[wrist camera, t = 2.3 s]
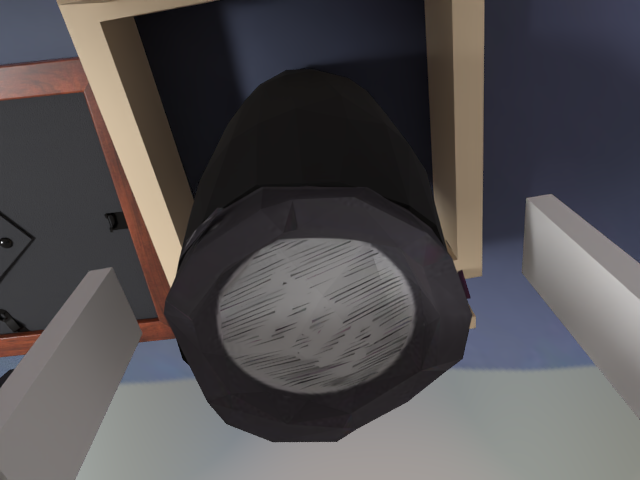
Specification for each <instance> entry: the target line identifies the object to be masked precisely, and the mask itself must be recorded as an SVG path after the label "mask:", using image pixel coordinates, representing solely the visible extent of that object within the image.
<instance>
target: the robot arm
mask: <svg viewBox="0 0 640 480" xmlns="http://www.w3.org/2000/svg"><path fill="white" fill-rule="evenodd" d="M522 273H523V275H524V276H525V277H526V278H527V280H528V281H529V282H530V283H531V285H532V286H533V287H534V288H535V290H536V291H537V292H538V293H539V295H540V296H541V297H542V298H543V300H544V301H545V302H546V303H547V305H548V306H549V307H550V308H551V310H552V311H553V312H554V313H555V315H556V316H557V317H558V318H559V320H560V321H561V322H562V323H563V325H564V326H565V327H566V328H567V330H568V331H569V332H570V333H571V335H572V336H573V337H574V338H575V340H576V341H577V342H578V343H579V345H580V346H581V347H582V348H583V350H584V351H585V352H586V353H587V355H588V356H589V357H590V358H591V360H592V361H593V362H594V363H595V365H596V366H597V367H598V368H599V370H601V372H602V373H603V375H604V376H605V377H606V378H607V380H608V381H609V382H610V383H611V384H612V386H613V387H614V388H615V390H616V391H617V392H618V393H619V394H620V396H621V397H622V398H623V400H624V401H625V402H626V403H627V405H628V406H629V407H630V408H631V410H632V411H633V412H634V413H635V415H636V416H637V417H638V418H639V420H640V263H638V262H637V261H636V260H634V259H633V258H632V257H631V256H629V255H628V254H627V253H626V252H624V251H623V250H622V249H621V248H619V247H618V246H617V245H616V244H614V243H613V242H612V241H610V240H609V239H608V238H607V237H605V236H604V235H603V234H602V233H600V232H599V231H598V230H597V229H595V228H594V227H593V226H591V225H590V224H589V223H588V222H586V221H585V220H584V219H583V218H581V217H580V216H579V215H578V214H576V213H575V212H574V211H573V210H571V209H570V208H569V207H567V206H566V205H565V204H564V203H562V202H561V201H560V200H559V199H557V198H556V197H555V196H554V195H552V194H548V195H542V196H536V197H530V198H526V211H525V228H524V246H523V263H522ZM142 334H143V333H142V331H141V329H140V327H139V324H138V322H137V320H136V318H135V316H134V314H133V311H132V309H131V307H130V305H129V303H128V300H127V298H126V296H125V294H124V292H123V290H122V287H121V285H120V283H119V281H118V279H117V276H116V274H115V272H114V270H113V268H112V267H110V268H104V269H98V270H92V271H89V272H88V273H87V274H86V276H85V277H84V278H83V280H82V281H81V282H80V284H79V285H78V286H77V288H76V289H75V290H74V292H73V293H72V294H71V296H70V297H69V298H68V299H67V301H66V302H65V303H64V305H63V306H62V307H61V309H60V310H59V311H58V313H57V314H56V315H55V317H54V318H53V319H52V321H51V322H50V323H49V325H48V326H47V327H46V328H45V330H44V331H43V332H42V334H41V335H40V336H39V338H38V339H37V340H36V342H35V343H34V344H33V346H32V347H31V348H30V350H29V351H28V352H27V354H26V355H25V356H24V358H23V359H22V360H21V361H20V363H19V364H18V365H17V367H16V368H15V369H12V370H9V371H8V372H7V373H5V374H4V375H3V376H2V377H1V378H0V480H75V479H76V476H77V475H78V472H79V470H80V468H81V466H82V464H83V461H84V459H85V457H86V455H87V453H88V451H89V449H90V446H91V444H92V442H93V440H94V438H95V436H96V433H97V431H98V429H99V427H100V425H101V422H102V420H103V418H104V416H105V414H106V412H107V410H108V407H109V405H110V403H111V401H112V399H113V396H114V394H115V392H116V390H117V388H118V386H119V383H120V381H121V379H122V377H123V375H124V373H125V370H126V368H127V366H128V364H129V362H130V360H131V357H132V355H133V353H134V351H135V349H136V347H137V344H138V342H139V340H140V338H141V336H142Z"/></svg>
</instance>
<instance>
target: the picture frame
mask: <svg viewBox="0 0 640 480" xmlns="http://www.w3.org/2000/svg"><path fill="white" fill-rule="evenodd" d="M110 267H112V268H113V270H114V272H115V274H116V276H117V279H118V281H119V283H120V285H121V287H122V290H123V292H124V294H125V296H126V298H127V300H128V303H129V305H130V307H131V309H132V311H133V314H134V316H135V318H136V320H137V322H138V324H139V327H140V329H141V331H142V333H143V334H142V336H141V338H140V340H139V342H147V341H156V340H166V339H175V338H176V337H175V335H174V333H173V331H172V329H171V327H170V325H169V323H168V321H167V319H166V317H165V315H164V307H165V300H166V297H167V295H168V293H169V291H170V288H171V287H170V285H169V282H168V280H167V277H166V275H165V272H164V270H163V267H162V265H161V262H160V260H159V257H158V255H157V252H156V250H155V247H154V245H153V242H152V240H151V237H150V235H149V232H148V230H147V227H146V224H145V222H144V219H143V217H142V214H141V212H140V209H139V207H138V204H137V202H136V199H135V197H134V194H133V192H132V189H131V187H130V184H129V182H128V179H127V177H126V174H125V172H124V169H123V167H122V164H121V162H120V159H119V157H118V154H117V151H116V149H115V146H114V144H113V141H112V139H111V136H110V134H109V131H108V129H107V126H106V124H105V121H104V119H103V116H102V114H101V111H100V109H99V106H98V104H97V101H96V99H95V96H94V94H93V91H92V89H91V86H90V84H89V81H88V79H87V76H86V73H85V71H84V68H83V66H82V63H81V61H80V58H79V57H71V58H62V59H52V60H43V61H33V62H24V63H14V64H5V65H0V357H7V356H17V355H26V354H27V352H28V351H29V350H30V348H31V347H32V346H33V344H34V343H35V342H36V340H37V339H38V338H39V336H40V335H41V334H42V332H43V331H44V330H45V328H46V327H47V326H48V325H49V323H50V322H51V321H52V319H53V318H54V317H55V315H56V314H57V313H58V311H59V310H60V309H61V307H62V306H63V305H64V303H65V302H66V301H67V299H68V298H69V297H70V296H71V294H72V293H73V292H74V290H75V289H76V288H77V286H78V285H79V284H80V282H81V281H82V280H83V278H84V277H85V276H86V274H87V273H88V272H89V271H92V270H98V269H104V268H110Z"/></svg>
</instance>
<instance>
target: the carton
mask: <svg viewBox="0 0 640 480" xmlns="http://www.w3.org/2000/svg"><path fill="white" fill-rule="evenodd" d="M56 1H57V3H58V6H59V8H60V11H61V13H62V16H63V18H64V21H65V23H66V26H67V28H68V31H69V33H70V36H71V38H72V41H73V43H74V46H75V48H76V51H77V53H78V56H79V58H80V61H81V63H82V66H83V68H84V71H85V73H86V76H87V79H88V81H89V84H90V86H91V89H92V91H93V94H94V96H95V99H96V101H97V104H98V106H99V109H100V111H101V114H102V116H103V119H104V121H105V124H106V126H107V129H108V131H109V134H110V136H111V139H112V141H113V144H114V146H115V149H116V151H117V154H118V157H119V159H120V162H121V164H122V167H123V169H124V172H125V174H126V177H127V179H128V182H129V184H130V187H131V189H132V192H133V194H134V197H135V199H136V202H137V204H138V207H139V209H140V212H141V214H142V217H143V219H144V222H145V224H146V227H147V230H148V232H149V235H150V237H151V240H152V242H153V245H154V247H155V250H156V252H157V255H158V257H159V260H160V262H161V265H162V267H163V270H164V272H165V275H166V277H167V280H168V282H169V285H170V287H171V286H172V284H173V282H174V279H175V277H176V272H177V267H178V262H179V258H180V254H181V250H182V245H183V241H184V237H185V233H186V229H187V225H188V220H189V217H190V213H191V210H192V206H193V203H194V199H193V196H192V193H191V190H190V187H189V184H188V181H187V178H186V175H185V172H184V169H183V166H182V163H181V159H180V156H179V153H178V150H177V147H176V144H175V141H174V138H173V135H172V132H171V129H170V126H169V123H168V120H167V117H166V114H165V111H164V108H163V105H162V102H161V99H160V96H159V93H158V90H157V87H156V84H155V81H154V78H153V74H152V71H151V68H150V65H149V62H148V59H147V56H146V53H145V50H144V47H143V44H142V41H141V38H140V35H139V32H138V29H137V26H136V23H135V20H134V17H135V16H141V15H146V14H151V13H156V12H161V11H167V10H172V9H177V8H182V7H188V6H193V5H198V4H203V3H209V2H214V1H219V0H56ZM424 2H425V23H426V44H427V65H428V86H429V107H430V128H431V149H432V169H433V190H434V201H435V205H436V209H437V213H438V217H439V220H440V224H441V228H442V232H443V236H444V239H445V243H446V247H447V251H448V253H449V254H450V256H451V257H452V259H453V262H454V265H455V268H456V270H457V273H458V271H460V270H462V271H463V274H464V277H465V279H467V278H473V277H479V276H482V215H483V105H484V0H424ZM446 240H447V242H448V244H449V245H450V247H451V248H450V247H449V245H448V244H447V242H446ZM469 307H470V306H469ZM470 310H471V312H472V319H471V323H470V328H469V329H471V328H476V316H475V314H474V313H473V311H472V309H471V307H470Z"/></svg>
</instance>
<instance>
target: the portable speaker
mask: <svg viewBox="0 0 640 480" xmlns="http://www.w3.org/2000/svg"><path fill="white" fill-rule="evenodd" d="M446 242H447V240H446ZM447 244H448V242H447ZM448 245H449V244H448ZM449 247H450V245H449ZM450 248H451V247H450ZM468 298H470V294H469V291H468V288H467V284H466V281H465V277H464V274H463V271H462V270H460V271H458V273H457V270H456V268H455V265H454V262H453V259H452V257H451V256H450V254H449V253H448V251H447V247H446V243H445V239H444V236H443V232H442V228H441V224H440V220H439V217H438V213H437V209H436V205H435V201H434V198H433V194H432V190H431V186H430V183H429V179H428V175H427V172H426V170H425V168H424V167H423V165H422V164H421V162H420V161H419V159H418V157H417V156H416V154H415V153H414V151H413V150H412V148H411V146H410V145H409V143H408V142H407V141H406V140H405V138H404V137H403V136H402V134H401V133H400V132H399V130H398V129H397V128H396V126H395V125H394V124H393V122H392V121H391V120H390V118H389V117H388V116H387V115H386V113H385V112H384V111H383V110H382V108H381V107H380V106H379V105H378V104H377V102H376V101H375V100H374V99H373V98H372V96H371V95H370V94H369V93H368V91H367V90H365V89H364V88H362V87H361V86H359V85H358V84H356V83H355V82H353V81H352V80H350V79H349V78H347V77H343V76H338V75H334V74H330V73H326V72H322V71H318V70H314V69H305V68H303V69H296V70H285V71H284V72H282V73H280V74H278V75H276V76H274V77H273V78H271V79H269V80H267V81H265V82H264V83H262V84H260V85H259V86H258V87H257V88H256V89H255V90H254V91H253V93H252V94H251V95H250V96H249V97H248V98H247V99H246V100H245V101H244V103H243V104H242V105H241V107H240V108H239V109H238V111H237V112H236V114H235V115H234V116H233V118H232V119H231V120H230V122H229V123H228V125H227V127H226V129H225V131H224V133H223V135H222V137H221V139H220V141H219V143H218V145H217V147H216V149H215V151H214V153H213V155H212V157H211V159H210V161H209V163H208V165H207V167H206V169H205V171H204V173H203V175H202V177H201V179H200V181H199V185H198V188H197V192H196V195H195V199H194V203H193V206H192V210H191V213H190V217H189V220H188V225H187V229H186V233H185V237H184V241H183V245H182V250H181V254H180V258H179V262H178V267H177V272H176V277H175V279H174V282H173V284H172V286H171V288H170V291H169V293H168V295H167V297H166V300H165V307H164V315H165V317H166V319H167V321H168V323H169V325H170V327H171V329H172V331H173V333H174V335H175V337H176V340H177V343H178V346H179V349H180V352H181V355H182V358H183V360H184V361H185V362H186V363H187V364H188V365H189V366H190V368H191V370H192V372H193V374H194V376H195V378H196V380H197V382H198V384H199V386H200V388H201V390H202V392H203V394H204V396H205V398H206V400H207V402H208V403H209V404H210V406H211V407H212V408H213V409H214V410H215V411H216V412H217V414H218V415H219V416H220V417H221V418H222V419H223V420H224V422H225V423H226V424H228V425H230V426H233V427H235V428H238V429H241V430H243V431H246V432H248V433H251V434H253V435H256V436H259V437H261V438H264V439H266V440H269V441H271V442H337V441H338V440H340V439H342V438H343V437H345V436H347V435H348V434H350V433H351V432H353V431H354V430H356V429H358V428H360V427H361V426H363V425H365V424H367V423H369V422H371V421H373V420H375V419H376V418H378V417H380V416H382V415H384V414H386V413H388V412H389V411H391V410H393V409H395V408H397V407H399V406H401V405H402V404H404V403H406V402H408V401H409V400H410V399H412V398H413V397H414V396H415V395H416V394H418V393H419V392H420V391H422V390H423V389H424V388H425V387H427V386H428V385H429V384H430V383H432V382H433V381H434V380H436V379H437V378H438V377H439V376H440V375H442V374H443V373H444V372H446V371H447V370H448V369H450V368H451V367H452V366H454V365H455V364H456V363H458V362H459V361H460V360H462V359H463V355H464V350H465V346H466V341H467V337H468V332H469V328H470V323H471V319H472V312H471V310H470V307H469V304H468V301H467V299H468Z"/></svg>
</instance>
